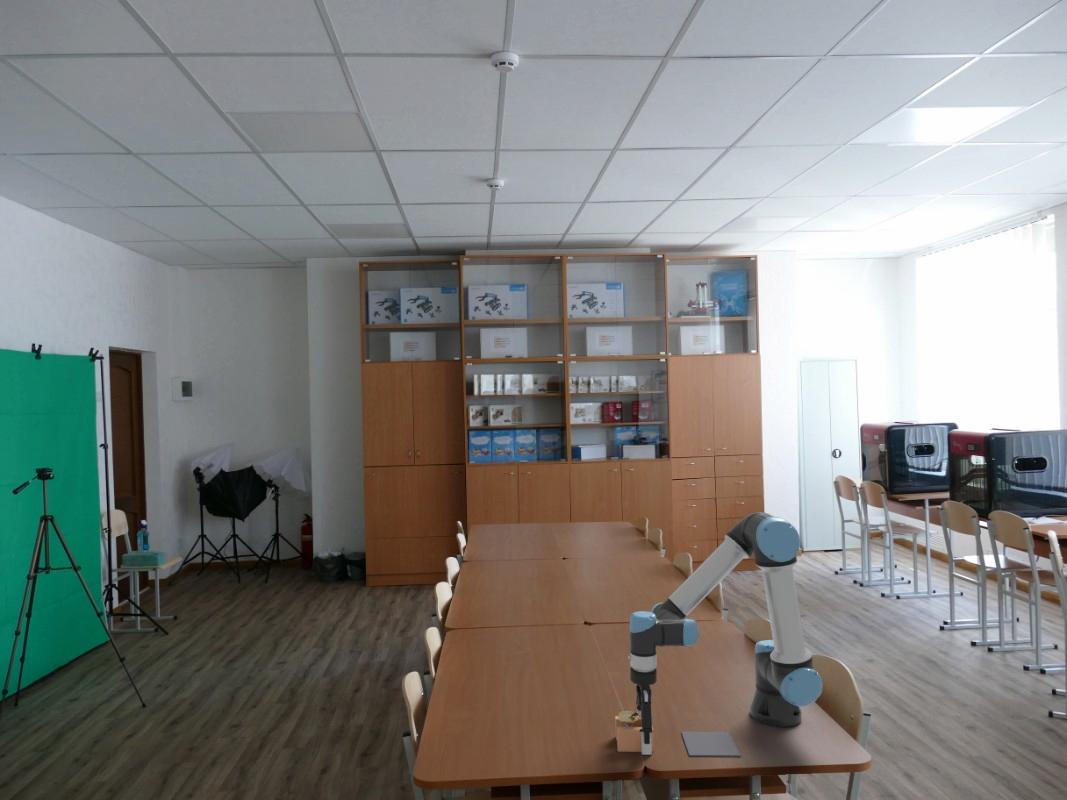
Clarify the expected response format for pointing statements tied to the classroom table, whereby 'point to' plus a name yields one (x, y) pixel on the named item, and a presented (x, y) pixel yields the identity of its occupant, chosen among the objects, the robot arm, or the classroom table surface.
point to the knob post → (628, 718)
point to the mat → (710, 744)
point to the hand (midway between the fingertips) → (644, 743)
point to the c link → (630, 736)
